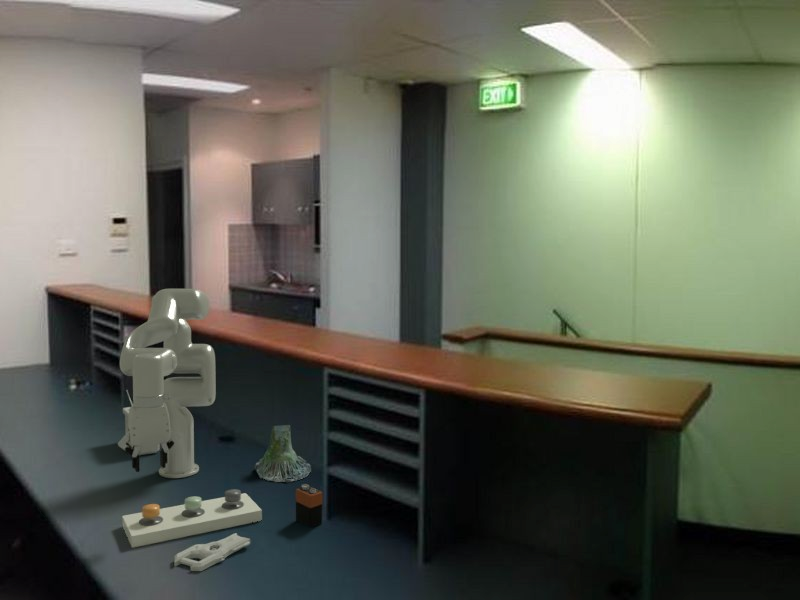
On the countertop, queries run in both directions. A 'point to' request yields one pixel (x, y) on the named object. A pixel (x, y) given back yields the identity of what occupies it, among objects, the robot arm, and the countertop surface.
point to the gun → (210, 552)
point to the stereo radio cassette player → (143, 449)
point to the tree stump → (282, 459)
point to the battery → (308, 506)
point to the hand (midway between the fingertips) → (150, 467)
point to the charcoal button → (232, 495)
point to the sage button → (193, 503)
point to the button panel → (190, 520)
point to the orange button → (150, 510)
